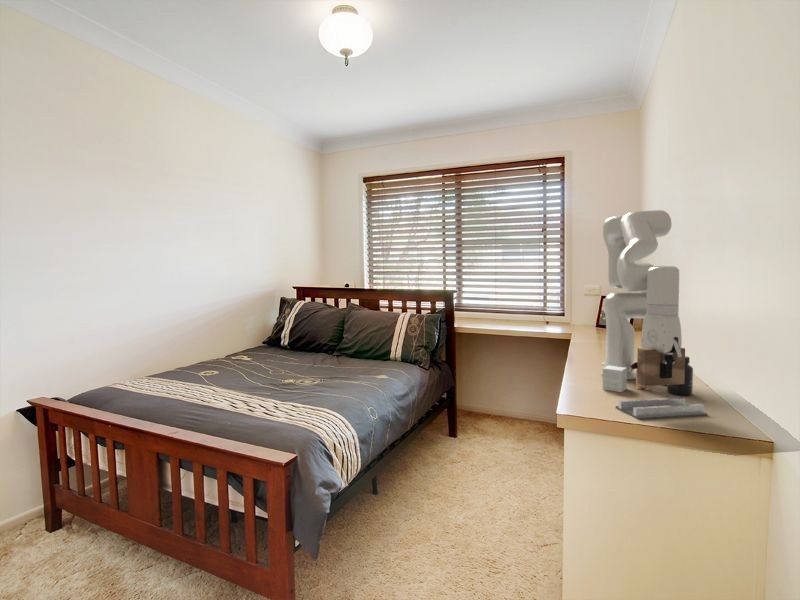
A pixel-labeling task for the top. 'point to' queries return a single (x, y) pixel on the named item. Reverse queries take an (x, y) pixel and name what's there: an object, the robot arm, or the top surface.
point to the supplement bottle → (688, 382)
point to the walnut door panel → (658, 368)
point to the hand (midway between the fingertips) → (660, 375)
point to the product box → (614, 378)
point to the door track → (660, 408)
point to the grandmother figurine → (638, 386)
